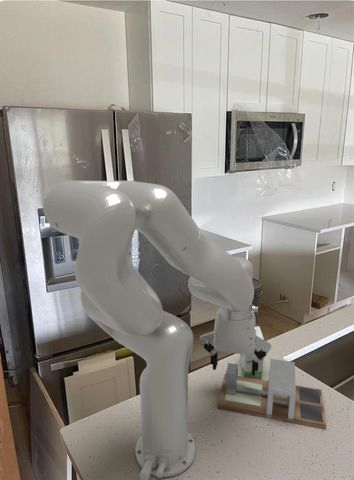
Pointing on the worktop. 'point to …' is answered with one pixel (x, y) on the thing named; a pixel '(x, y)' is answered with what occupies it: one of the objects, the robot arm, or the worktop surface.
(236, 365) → the grey dumbbell
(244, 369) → the ink box
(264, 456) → the worktop surface
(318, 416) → the board
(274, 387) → the tunnel
